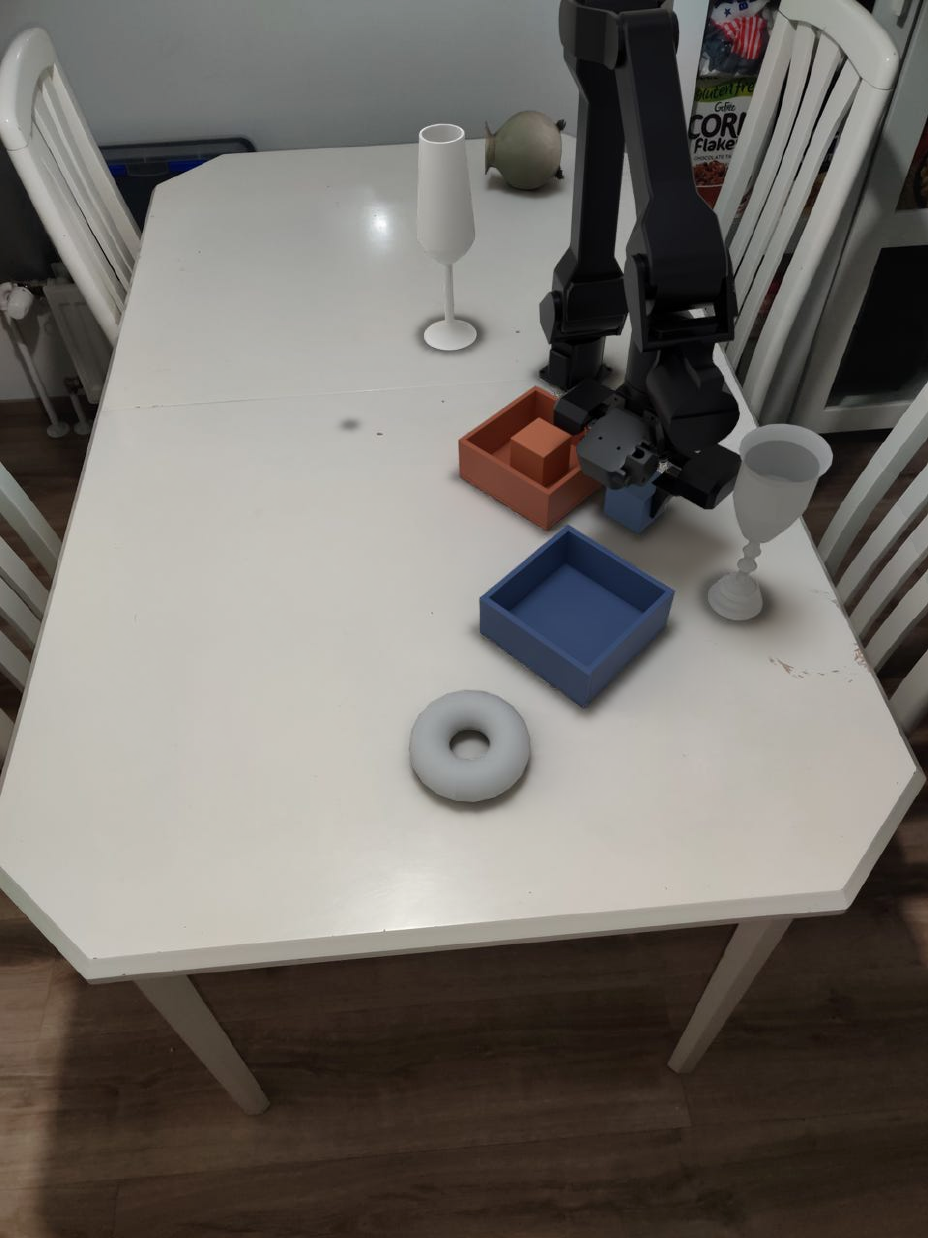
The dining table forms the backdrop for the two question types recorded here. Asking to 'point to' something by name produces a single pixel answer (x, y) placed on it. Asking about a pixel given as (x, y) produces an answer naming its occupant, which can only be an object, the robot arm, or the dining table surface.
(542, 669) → the blue bin
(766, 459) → the chalice
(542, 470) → the terracotta block
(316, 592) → the dining table surface
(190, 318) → the dining table surface
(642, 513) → the blue block
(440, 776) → the donut
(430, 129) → the champagne flute
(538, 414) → the terracotta bin
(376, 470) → the dining table surface
